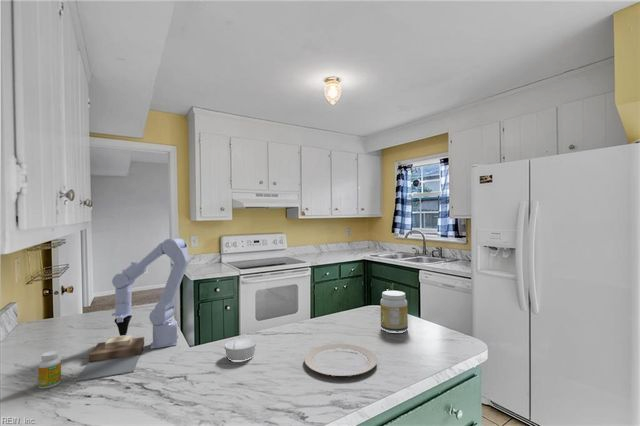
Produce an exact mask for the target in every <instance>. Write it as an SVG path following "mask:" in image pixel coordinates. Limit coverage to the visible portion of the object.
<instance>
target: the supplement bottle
mask: <svg viewBox="0 0 640 426" xmlns="http://www.w3.org/2000/svg"><path fill="white" fill-rule="evenodd" d="M37 368H38V371H37V372H38V373H37V376H38V379H37V381H38V382H37V383H38V384H37V387H38V389H48V388H49V389H51V388H53V387H56V386H57V385H60V383H61V381H62V380H61V379H62V358H60V357H59V351H58V350H50V351H47V352H44V353H42V354H41V361H40V362H39V363H38V367H37Z"/></svg>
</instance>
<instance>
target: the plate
mask: <svg viewBox="0 0 640 426" xmlns="http://www.w3.org/2000/svg"><path fill="white" fill-rule="evenodd" d="M335 348H342V349H351V350H354V351H358V352H360V353H362V354H363V355H365V356H366V357H367V359H368V361H369V365H368V364H367V367H366V368H365V369H364V370H361V371H357V372H356V373H350V374H333V373H329V372H324V371H322V370H319V369H318V368H316V367H315V365H314V363H313V364H312V359H313V358H314V356H315V355H316V354H317V353H319V352H321V351H324V350H327V349H335ZM304 363H305V365H306V367H308V368H309V369H310V370H312V371H315V373H316V372H317V373H319V374H322V375H326V376H329V375H331V376H330V377H335V376H348V377H353V375H354V376H357V375H362V374H365V373H368V372H370V371H371V370H372V369H373V368H375V367H376V365H377V364H378V358H377V356H376V355H375V354H374V353H373V351H371V350H369V349H367V348H365V347H362V346H361V345H360V346H359V345H356V344H350V343H349V344H347V343H331V344H324V345H321V346H317V347H314V348H312V349H311V350H309V351H308V352H307V353H306V354H305V356H304ZM313 365H314V366H313Z"/></svg>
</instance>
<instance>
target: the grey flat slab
mask: <svg viewBox="0 0 640 426" xmlns="http://www.w3.org/2000/svg"><path fill="white" fill-rule="evenodd" d="M140 356H141V354H140V355H135V356H129V357H122V358H115V359H109V360H102V361H96V362H89V361H88V363H87V364H86V366H85V367H84V368H83V370H81V372H80V374H79V376H77V378H76V380H75V383H77V382H84V381H88V380H95V379H96V380H97V379H101V378H106V377H114V376H119V375H125V373H126V374H131V373H130V372H132V373H134V372H135V368H136V366H137V364H138V361H139V359H140Z"/></svg>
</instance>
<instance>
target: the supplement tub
mask: <svg viewBox="0 0 640 426" xmlns="http://www.w3.org/2000/svg"><path fill="white" fill-rule="evenodd" d="M381 297H382V298H381V299H380V304H379V305H380V328H381V327H382V328H383V329H385V330H388V331H396V332H399V331H405V330H407V329H409V327H408V326H409V325H408V324H409V322H408V316H409V315H408V300H407V299H406V292H404V291H400V290H385V291H382V293H381ZM407 331H408V330H407Z"/></svg>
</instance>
